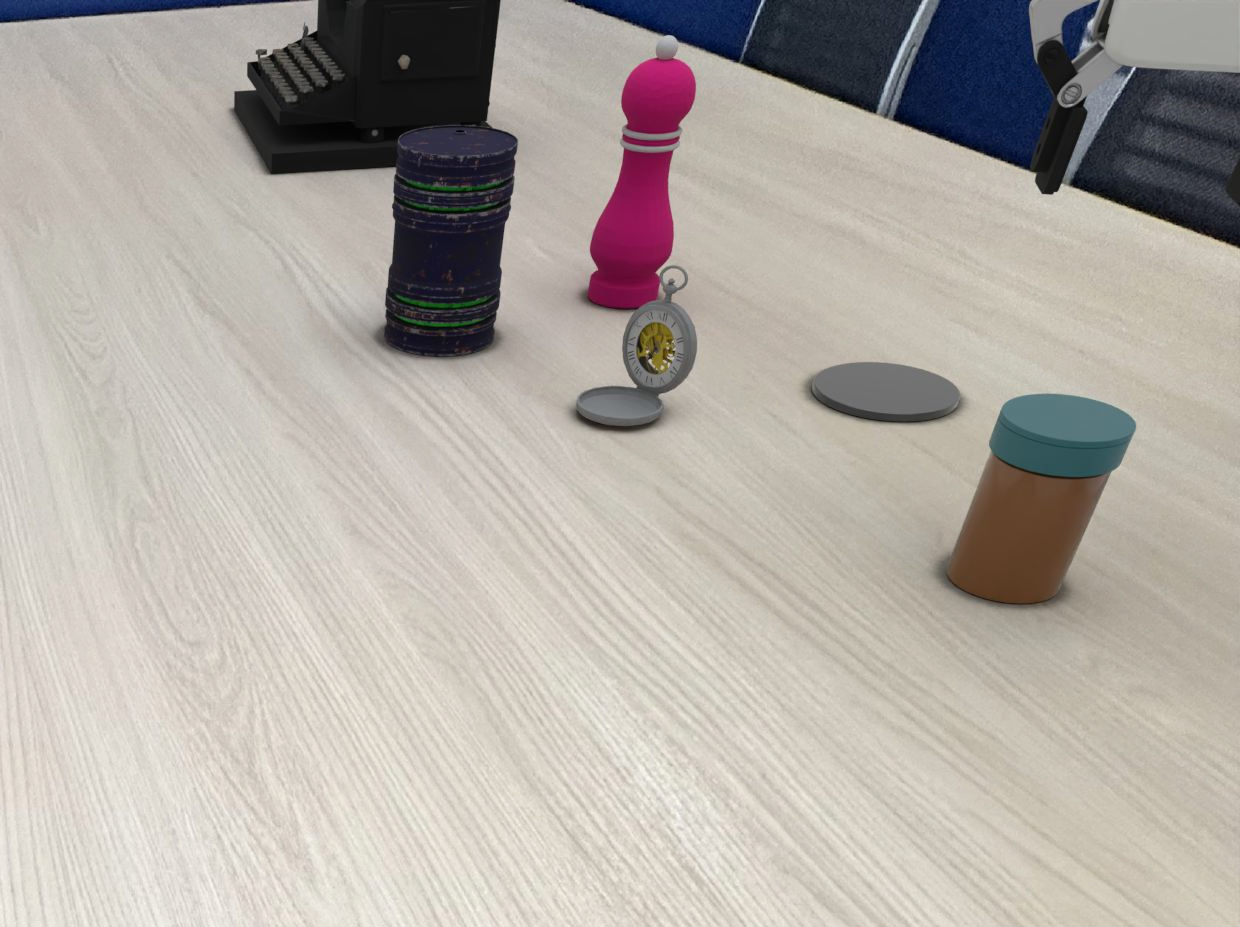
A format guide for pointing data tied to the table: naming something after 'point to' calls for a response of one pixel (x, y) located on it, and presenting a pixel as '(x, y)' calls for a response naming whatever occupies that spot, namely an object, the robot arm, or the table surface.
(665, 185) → the pepper mill
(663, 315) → the pocket watch
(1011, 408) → the jam lid
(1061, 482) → the jam jar
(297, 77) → the typewriter
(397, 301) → the dark blue cylinder
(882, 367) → the coaster
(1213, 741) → the table surface
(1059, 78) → the robot arm
